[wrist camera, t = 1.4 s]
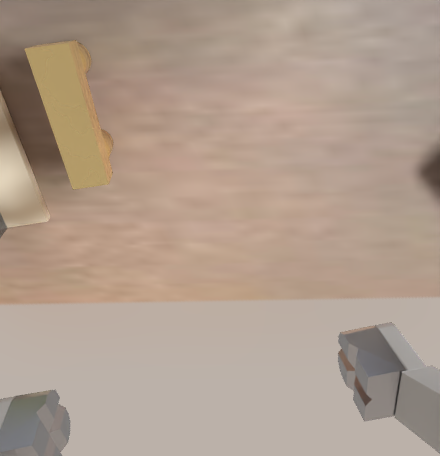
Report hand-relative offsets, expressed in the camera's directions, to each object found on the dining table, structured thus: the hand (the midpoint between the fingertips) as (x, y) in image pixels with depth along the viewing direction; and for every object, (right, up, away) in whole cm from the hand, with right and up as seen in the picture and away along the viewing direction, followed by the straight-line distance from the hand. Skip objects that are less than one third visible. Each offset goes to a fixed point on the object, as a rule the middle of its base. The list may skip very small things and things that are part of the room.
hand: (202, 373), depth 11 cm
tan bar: (-11, +15, +22) cm, 28 cm away
